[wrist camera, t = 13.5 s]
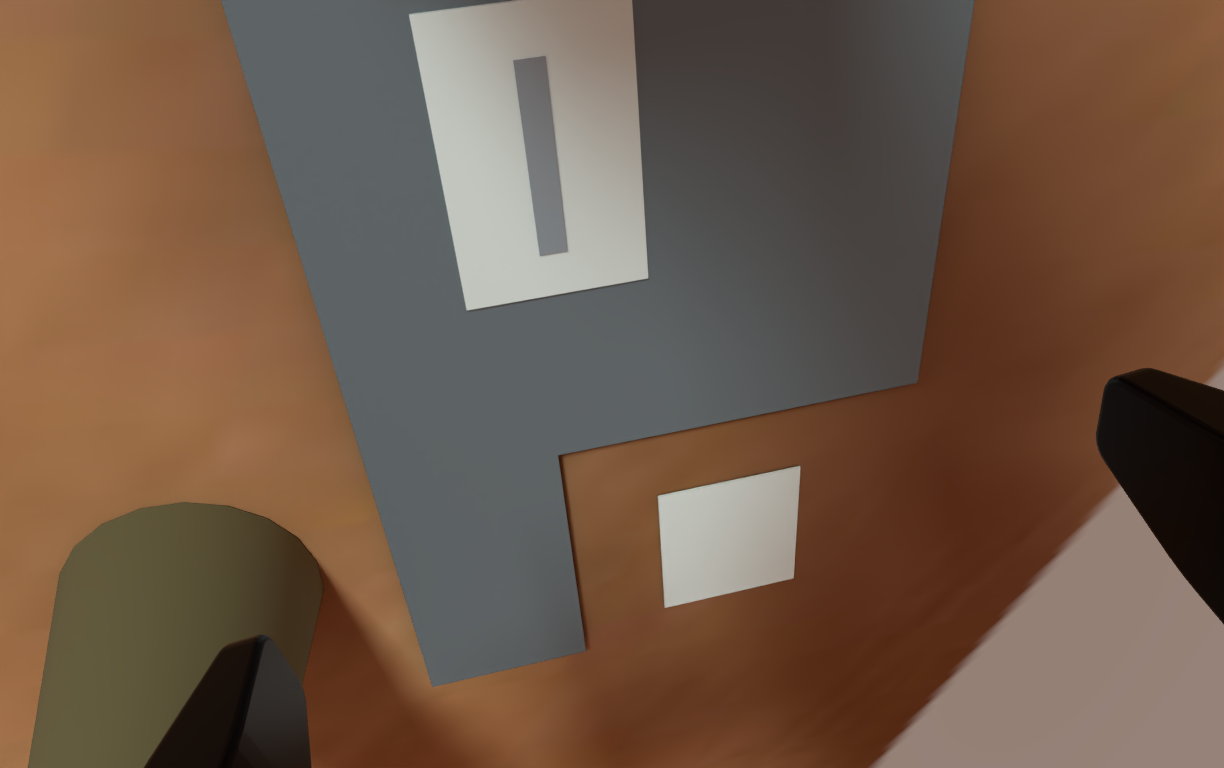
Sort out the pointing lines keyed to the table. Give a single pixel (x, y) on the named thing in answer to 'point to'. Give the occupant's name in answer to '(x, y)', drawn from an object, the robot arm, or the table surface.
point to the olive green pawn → (162, 624)
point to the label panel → (598, 261)
